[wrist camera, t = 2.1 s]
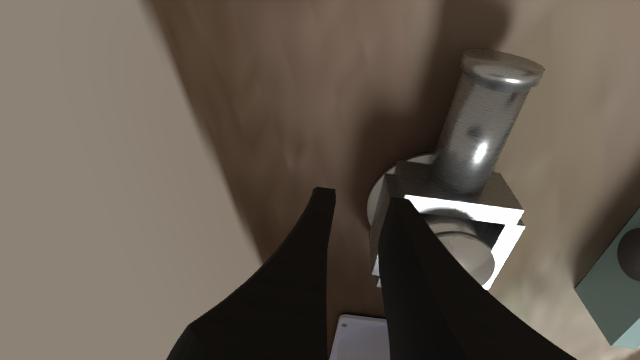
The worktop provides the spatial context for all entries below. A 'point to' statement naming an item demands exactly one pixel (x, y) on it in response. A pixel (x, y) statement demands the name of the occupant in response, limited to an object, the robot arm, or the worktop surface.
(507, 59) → the elbow
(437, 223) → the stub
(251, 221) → the worktop surface
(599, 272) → the pale teal rectangular bar
